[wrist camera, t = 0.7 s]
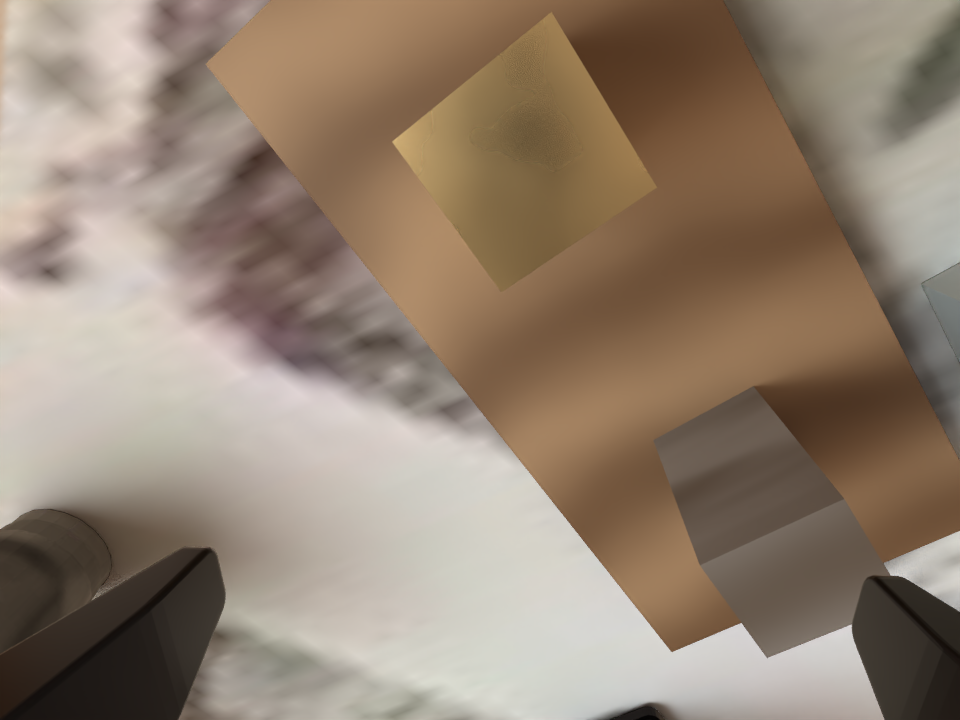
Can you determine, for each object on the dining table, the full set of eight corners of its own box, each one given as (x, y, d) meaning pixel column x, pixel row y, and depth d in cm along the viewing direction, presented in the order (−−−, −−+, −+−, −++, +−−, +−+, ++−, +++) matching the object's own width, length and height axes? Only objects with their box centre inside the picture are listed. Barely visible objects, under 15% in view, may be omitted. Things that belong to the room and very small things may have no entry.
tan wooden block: (615, 161, 17) (656, 187, 11) (510, 235, 18) (501, 292, 12) (544, 45, 16) (551, 11, 10) (437, 130, 17) (392, 141, 11)
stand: (959, 492, 22) (1160, 671, 15) (664, 622, 25) (714, 817, 18) (567, -256, 15) (601, -584, 8) (230, 67, 18) (44, 41, 11)
